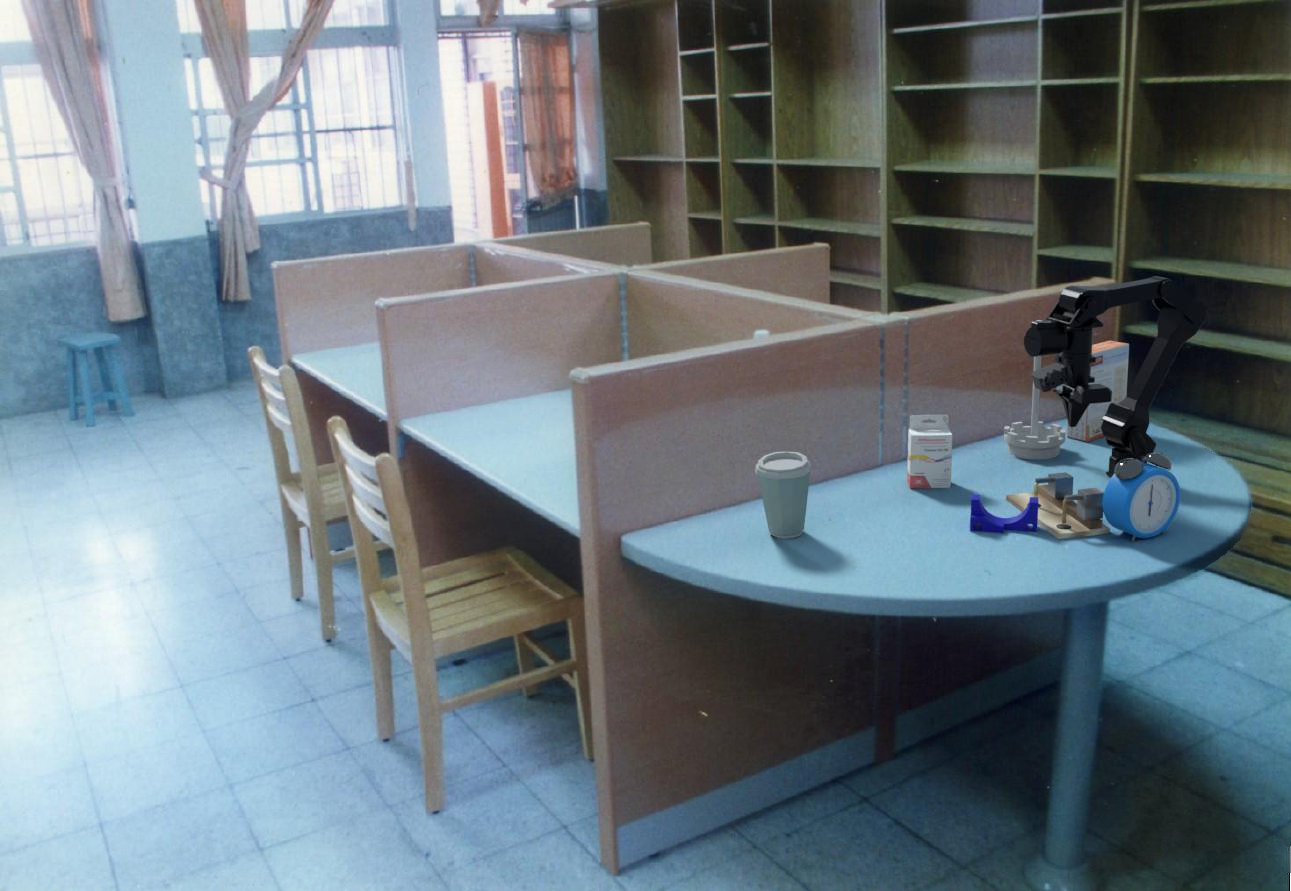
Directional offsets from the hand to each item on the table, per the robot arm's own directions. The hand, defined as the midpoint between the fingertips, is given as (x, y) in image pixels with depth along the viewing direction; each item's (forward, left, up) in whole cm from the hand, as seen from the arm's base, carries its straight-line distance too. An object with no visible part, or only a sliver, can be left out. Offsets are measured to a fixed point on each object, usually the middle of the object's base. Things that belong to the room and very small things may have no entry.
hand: (1072, 426), depth 238 cm
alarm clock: (0, +26, -13) cm, 30 cm away
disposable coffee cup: (+62, +8, -13) cm, 64 cm away
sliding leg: (+9, +10, -11) cm, 18 cm away
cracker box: (-23, -32, -13) cm, 42 cm away
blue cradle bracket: (+22, +17, -13) cm, 31 cm away
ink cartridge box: (+26, -10, -13) cm, 31 cm away
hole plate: (+10, +14, -13) cm, 22 cm away
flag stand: (-4, -24, -13) cm, 28 cm away
